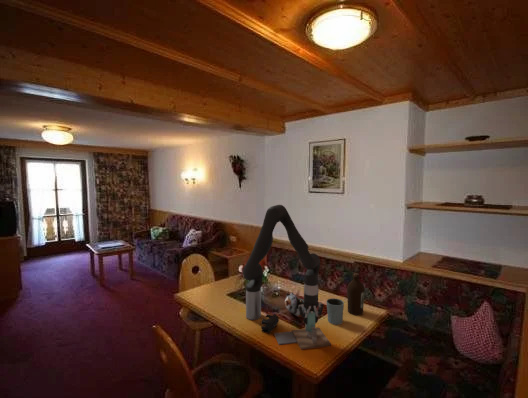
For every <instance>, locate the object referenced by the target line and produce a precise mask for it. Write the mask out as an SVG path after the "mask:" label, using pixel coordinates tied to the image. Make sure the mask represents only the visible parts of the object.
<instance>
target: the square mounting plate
mask: <svg viewBox="0 0 528 398" xmlns="http://www.w3.org/2000/svg"><path fill="white" fill-rule="evenodd" d="M311 329H312V332H309V331H307V330H306V324H305V323H304V328H302V329H301V328H300V329H299V328H298V329H292V330H291V331H292V333H293V335H294V336H295V338H296V340H297V343H296V344H298V346H299V349H300V350H308V349H315V348H325V347H332V342H330V340H329V339H328V338H327V337H326V335H325V334H324V332H323V330H321V328H320V327H319V326H318V327H316V326H315V327H311Z"/></svg>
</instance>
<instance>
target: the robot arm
mask: <svg viewBox="0 0 528 398" xmlns="http://www.w3.org/2000/svg"><path fill="white" fill-rule="evenodd" d="M291 217H292V216H291V215H290V213H289V211H288V210H287V208H286V207H285V206H284V205H282V204H275V205H272V206H269V208H267V210H266V211H265V215H264V219H263V223H262V226H261V228H260V231H259V233H258V236H257V238H256V240H255V243H254V245H253V248H252V250H251V253H250V255H249V257H248V260H247V261H246V263H245V265H244V267H243V268H242V275H243V278H244V280H246V281H248V282H247V284H246V285H245V317H246V319H248V320H250V321H255V320H259V319H260V318H261V317H262V286H263V276H264V275H263V273H264V272H263V267H262V265H261V261H263V259H264V258H265V257H266V256H267V255H268V254H269V251H270V250H271V248H272V245H273V241H274V236H273V232H274V230H275V227H276V226H277V223H278V224H279V222H280V223H281V224H282V226H283V227H284V229H285V230H286V234H287V238H288V241H289V243H290V244H291V246H292V247H293V249H294V250H295V252H296V253H297V256H298V258H299V261H300V263H301V264H302V266H303V267H304V268H305V269H306V271H305V273H304V285H303V300H304V303H303V304H302V305H298V308H299V312H300V315H301V316H302V317H301V318H303V323H304V325H305V324H307V315H308V314H309V312H310V311H314V312H315V324H317V323H318V321H319V316H322V313H323V310H324V307H325V304H323V302H319V291H320V290H319V271H320V266H321V259H320V257H319V255H318V254H316V253H314V252H313V253H311V252H310V251H309V249H310V248H309V245H308V243H307V242H306V240H305V239H304V237H303V236H302V235H301V233H300V231H298V228H297V226H296V224H295V223H294V220H292V218H291ZM303 307H305V310H304V314H303V311H302V309H303ZM317 308H318V309H317Z"/></svg>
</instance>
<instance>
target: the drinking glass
mask: <svg viewBox="0 0 528 398" xmlns="http://www.w3.org/2000/svg"><path fill="white" fill-rule="evenodd" d="M344 306H345V302H344V301H343V300H342V299H340V298H335V297H334V298H333V297H332V298H328V299H326V311H327V312H326V313H327V322H328V323H329V324H331V325H335V326H339V325H342V324H343V322H344Z"/></svg>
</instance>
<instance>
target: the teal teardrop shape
mask: <svg viewBox="0 0 528 398" xmlns="http://www.w3.org/2000/svg"><path fill="white" fill-rule="evenodd" d="M311 327H315V328H316V323H315V312H314V311H310V312H309V314H308V315H307V324H306V330H307V331H309V332H312V329H311Z"/></svg>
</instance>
